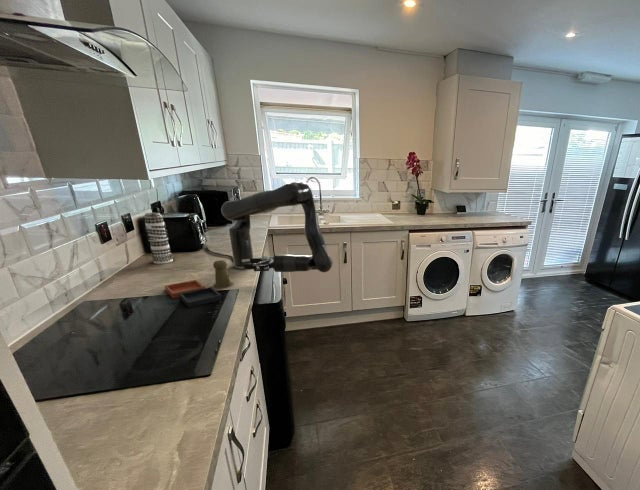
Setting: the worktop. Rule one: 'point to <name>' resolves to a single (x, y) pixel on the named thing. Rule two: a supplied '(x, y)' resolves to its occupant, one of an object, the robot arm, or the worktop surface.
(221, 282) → the cork
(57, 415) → the worktop surface
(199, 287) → the terracotta tray
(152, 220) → the white patterned cylinder
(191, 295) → the charcoal tray
